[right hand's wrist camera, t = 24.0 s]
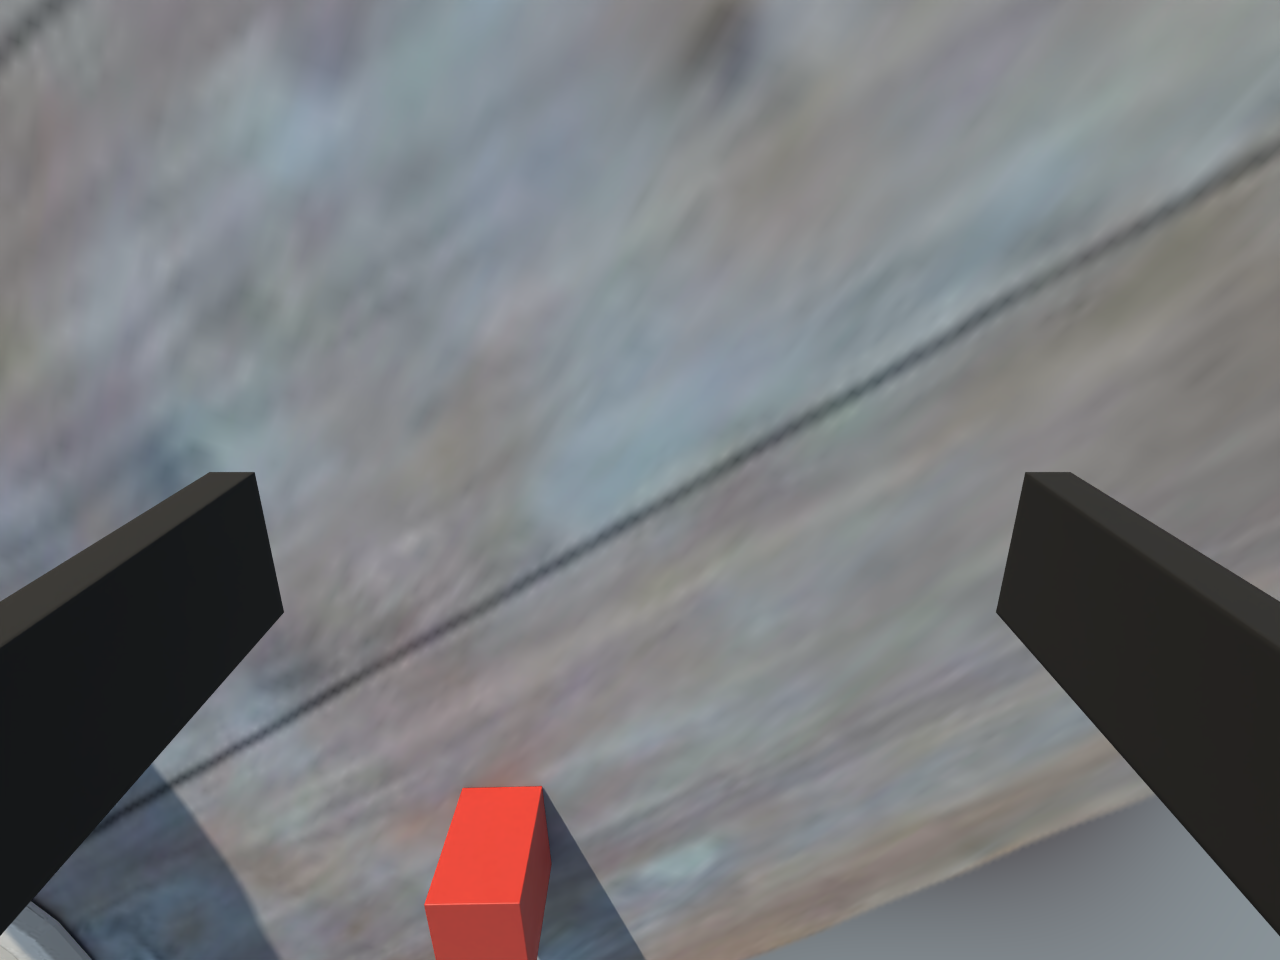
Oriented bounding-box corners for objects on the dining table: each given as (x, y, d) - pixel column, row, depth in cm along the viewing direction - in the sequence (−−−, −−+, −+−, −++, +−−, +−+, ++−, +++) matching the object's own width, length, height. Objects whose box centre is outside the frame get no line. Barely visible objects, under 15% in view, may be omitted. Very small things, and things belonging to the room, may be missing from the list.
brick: (462, 787, 44) (423, 904, 37) (542, 785, 44) (519, 903, 36) (475, 865, 46) (442, 990, 39) (551, 864, 46) (532, 989, 39)
